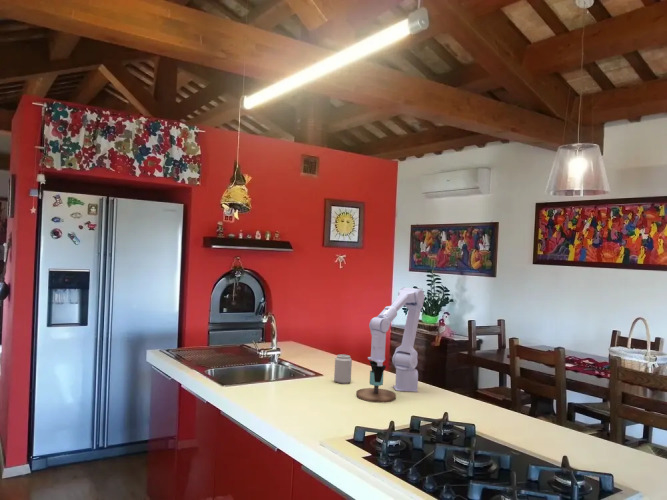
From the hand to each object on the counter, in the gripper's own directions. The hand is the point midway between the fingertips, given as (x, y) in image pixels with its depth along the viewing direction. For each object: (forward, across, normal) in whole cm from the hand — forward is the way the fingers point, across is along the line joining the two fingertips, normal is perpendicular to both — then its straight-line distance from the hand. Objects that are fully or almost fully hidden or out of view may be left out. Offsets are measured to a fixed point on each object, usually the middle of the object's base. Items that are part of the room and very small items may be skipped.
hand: (376, 380), depth 218 cm
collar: (+2, 0, 0) cm, 2 cm away
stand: (+7, 0, 0) cm, 7 cm away
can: (+7, -23, -12) cm, 27 cm away
